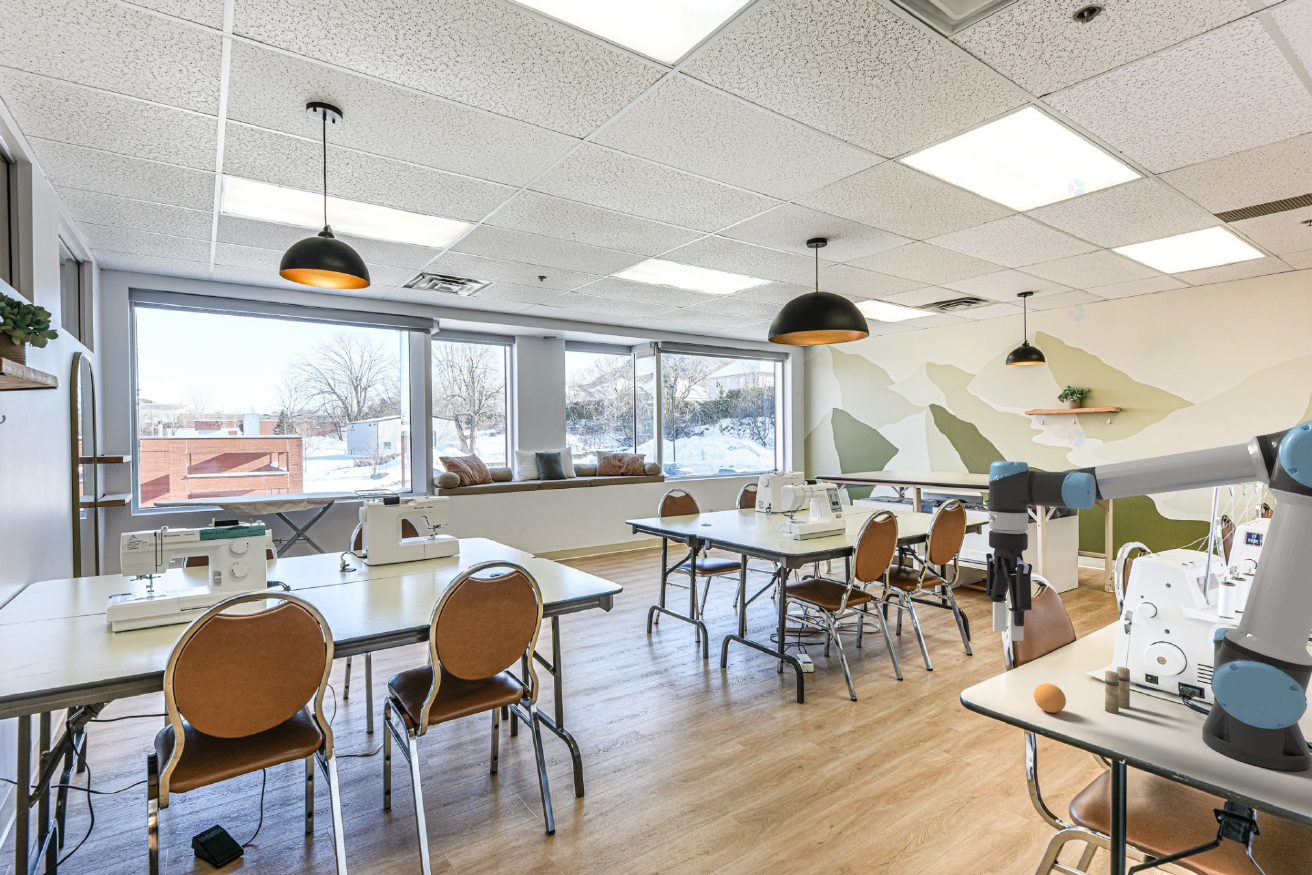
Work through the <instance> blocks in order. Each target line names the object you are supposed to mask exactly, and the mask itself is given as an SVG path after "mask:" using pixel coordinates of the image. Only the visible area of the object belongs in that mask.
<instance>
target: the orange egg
mask: <svg viewBox="0 0 1312 875" xmlns="http://www.w3.org/2000/svg"><path fill="white" fill-rule="evenodd" d="M1033 698H1034V701H1035V703H1036V705H1037V706H1038V707H1039V708H1040V709H1041V710H1043V711H1045V712H1047V713H1053V714H1054V713H1059V712H1061V711H1062V710H1063V709H1065V706H1066V704H1067V700H1066V695H1065V693H1064V692H1063V691H1062V689H1061V688H1059V686H1057V685H1055V684H1052V683H1047V682H1045V683H1041V684H1039V685H1038V686H1037V687H1035V689H1034V691H1033Z"/></svg>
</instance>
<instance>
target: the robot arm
mask: <svg viewBox="0 0 1312 875" xmlns="http://www.w3.org/2000/svg"><path fill="white" fill-rule="evenodd" d="M989 467H990V468H989V480H988V497H989V499H988V501H989V506H988V507H989V509H988V511H989V513H988V514H989V515H988V521H989V523H988V524H989V525H988V526H989V528H990V529H991V530H990V531H988V545H989V548H992V549H994V551H993V553H989V552H988V553H987V552H986V554H985V558H986V564H987V565H986V585H985V586H986V587H985V588H986V592H985V594H986V596H987V597H989V598H990V600H991V602H992V631H993V632H999V633H1000V632H1001V633H1002V632H1004V633H1005V632H1007V602H1008V599H1007V598H1006V597H1005V596H1006V595H1005V594H1006V591H1007V585H1008V592H1009V598H1010V604H1011V607H1009V608H1008V614H1009V615H1008V619H1009V620H1008V622H1009V623H1008V624H1009V626H1008V639H1009V641H1013V642H1014V641H1015V642H1018V641H1019V642H1022V641H1024V637H1025V636H1024V633H1025V632H1024V629H1025V628H1024V625H1025V612H1026V611H1031V610H1032V609H1033V608H1032V605H1033V604H1032V581H1031V580H1032V571H1033V565H1032V564H1031V563H1026V562H1025V561H1024V556H1023V552H1024V551H1026V550H1028V548H1029V547H1028V546H1029V535H1028V533H1027V531H1029V506H1034V507H1035V506H1037V507H1049V508H1062V509H1064V508H1065V509H1070V510H1076V509H1077V510H1081V509H1082V510H1084V509H1085V510H1089V509H1090V510H1091V509H1092V508H1093V507H1094V505H1095V502H1097V501H1104V500H1106V501H1107V500H1113V499H1114V500H1115V499H1121V498H1129V497H1137V496H1146V495H1154V494H1155V495H1156V494H1163V493H1172V492H1179V491H1188V490H1197V489H1203V488H1213V487H1222V486H1230V485H1231V486H1232V485H1239V484H1246V483H1253V482H1254V483H1255V482H1261V483H1263V484H1264V485H1267V486H1268V487H1267V490H1268V491H1269V492H1270V493H1271V495H1272V496H1273V497H1274V498H1275V500H1276V501H1275V505H1274V508H1273V511H1272V514H1271V518H1270V521H1269V523H1268V524H1269V525H1268V529H1267V532H1266V535H1265V538H1264V541H1263V545H1262V549H1261V550H1260V555H1259V559H1258V561H1257V566H1256V568H1255V571H1254V575H1253V578H1252V582H1251V585H1250V588H1249V591H1248V595H1247V598H1246V602H1245V606H1244V609H1243V611H1242V612H1243V613H1242V616H1241V619H1240V623H1239V626H1238V627H1236V628H1234V627H1233V628H1231V627H1221V628H1217V629H1216V630H1215V631H1214V637H1213V639H1212V642H1213V645H1214V646H1213V647H1214V648H1213V649H1214V650H1213V652H1214V653H1213V654H1214V655H1213V670H1212V675H1211V678H1210V685H1211V687H1210V688H1211V691H1212V693H1213V695H1214V696H1213V704H1212V706H1211V709H1210V711H1209V713H1208V715H1207V717H1206V720H1205V721H1204V723H1203V726H1202V730H1201V731H1202V732H1201V733H1202V741H1203V742H1204V744H1205V745H1207V746H1208V747H1210V748H1211V749H1213V750H1215V751H1216V752H1218V753H1221V754H1222V755H1225V756H1227V757H1228V758H1232V759H1235V760H1237V761H1240V762H1244V763H1247V764H1250V765H1254V766H1258V767H1262V768H1267V769H1271V770H1276V771H1277V770H1278V771H1287V772H1300V771H1306V770H1309V767H1310V768H1311V766H1310V765H1311V751H1310V748H1309V747H1308V744H1307V741H1306V739H1305V737H1304V735H1303V732H1302V729H1301V727H1300V725H1299V721H1300V720H1301V719H1302V718H1303V716H1304V714H1305V713H1306V711H1307V708H1308V703H1307V701H1308V698H1307V695H1306V693H1307V691H1308V686H1309V684H1310V680H1311V678H1312V655H1311V654H1310V653H1309V651H1308V650H1307V646H1308V643H1309V639H1310V637H1311V633H1312V419H1310V420H1307V421H1304V422H1302V423H1300V424H1298V425H1296V426H1293V427H1289V428H1287V429H1284V430H1281V431H1276V432H1272V433H1268V434H1263V435H1255V436H1252V438H1251V439H1249V441H1248V442H1244V443H1239V444H1231V445H1224V446H1220V447H1219V446H1218V447H1212V448H1211V447H1210V448H1205V449H1199V450H1191V451H1185V452H1178V453H1172V454H1166V455H1159V456H1153V457H1147V458H1141V459H1134V460H1128V461H1121V462H1115V463H1107V464H1101V465H1096V466H1090V467H1082V468H1077V469H1076V468H1074V469H1073V468H1071V469H1066V470H1063V471H1036V470H1035V471H1034V470H1030V468H1029V464H1028V463H1027V462H1025V461H1014V460H1013V461H1011V460H1008V461H1007V460H995V461H994V462H992V463H991V464H990V466H989Z"/></svg>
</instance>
